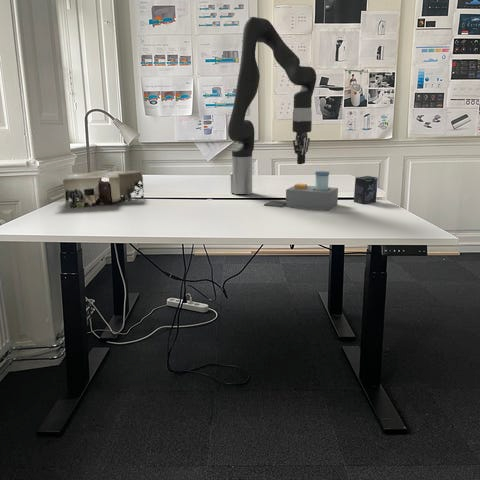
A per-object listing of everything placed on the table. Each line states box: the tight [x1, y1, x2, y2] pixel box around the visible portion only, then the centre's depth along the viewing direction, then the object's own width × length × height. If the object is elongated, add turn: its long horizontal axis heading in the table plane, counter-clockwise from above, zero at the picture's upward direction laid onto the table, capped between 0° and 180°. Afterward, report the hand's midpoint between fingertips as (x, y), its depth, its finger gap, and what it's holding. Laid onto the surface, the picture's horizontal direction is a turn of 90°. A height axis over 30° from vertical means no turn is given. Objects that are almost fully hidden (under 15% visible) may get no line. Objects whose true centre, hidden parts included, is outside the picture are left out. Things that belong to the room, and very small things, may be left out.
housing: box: [285, 185, 339, 211], centre depth 199 cm, size 18×12×7 cm, turn 63°
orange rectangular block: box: [294, 183, 308, 189], centre depth 201 cm, size 4×4×5 cm
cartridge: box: [314, 170, 330, 191], centre depth 196 cm, size 5×5×12 cm
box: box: [353, 175, 379, 205], centre depth 204 cm, size 8×6×11 cm
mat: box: [263, 200, 286, 208], centre depth 203 cm, size 8×8×1 cm
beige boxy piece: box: [62, 170, 145, 208], centre depth 208 cm, size 18×32×13 cm, turn 102°
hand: (301, 163), depth 198 cm, fingers closed
